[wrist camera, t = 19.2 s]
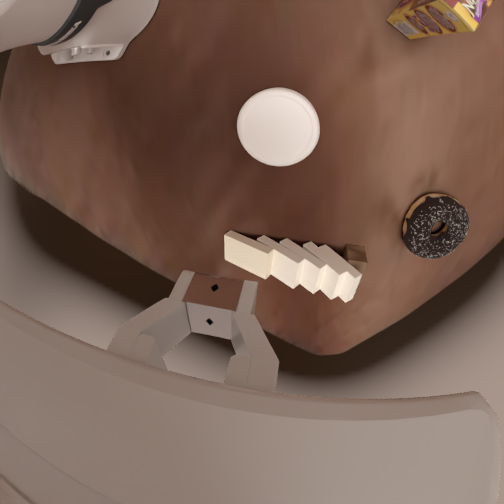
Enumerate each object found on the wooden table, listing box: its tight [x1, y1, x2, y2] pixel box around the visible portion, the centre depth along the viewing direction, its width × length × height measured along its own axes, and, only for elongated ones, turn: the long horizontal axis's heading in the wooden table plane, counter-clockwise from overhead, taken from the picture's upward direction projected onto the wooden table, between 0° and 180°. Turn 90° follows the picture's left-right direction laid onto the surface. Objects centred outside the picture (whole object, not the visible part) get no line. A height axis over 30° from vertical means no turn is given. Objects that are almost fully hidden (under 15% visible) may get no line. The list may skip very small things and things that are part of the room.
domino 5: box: [319, 244, 362, 303], centre depth 41 cm, size 2×5×8 cm
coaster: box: [237, 87, 320, 166], centre depth 31 cm, size 10×10×4 cm
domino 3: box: [279, 238, 327, 294], centre depth 42 cm, size 2×5×8 cm
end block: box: [342, 244, 368, 291], centre depth 42 cm, size 3×6×4 cm, turn 177°
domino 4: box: [303, 242, 347, 299], centre depth 41 cm, size 2×5×8 cm
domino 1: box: [224, 230, 274, 279], centre depth 43 cm, size 2×5×8 cm
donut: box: [402, 193, 469, 259], centre depth 34 cm, size 11×12×4 cm
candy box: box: [387, 0, 493, 39], centre depth 12 cm, size 9×4×15 cm, turn 151°
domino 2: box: [257, 235, 305, 289], centre depth 42 cm, size 2×5×8 cm
